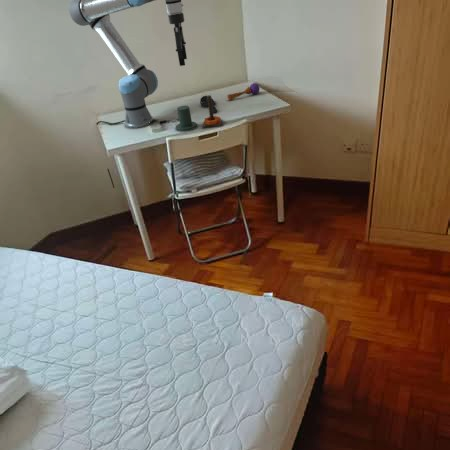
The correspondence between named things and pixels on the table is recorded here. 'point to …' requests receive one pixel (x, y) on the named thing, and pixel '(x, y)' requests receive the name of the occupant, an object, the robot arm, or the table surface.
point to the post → (211, 114)
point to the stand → (185, 119)
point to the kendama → (252, 89)
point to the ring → (215, 121)
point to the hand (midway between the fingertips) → (183, 62)
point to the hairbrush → (205, 103)
